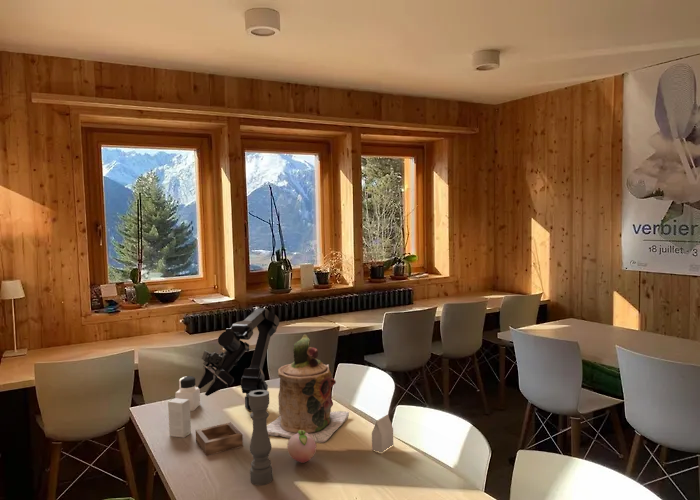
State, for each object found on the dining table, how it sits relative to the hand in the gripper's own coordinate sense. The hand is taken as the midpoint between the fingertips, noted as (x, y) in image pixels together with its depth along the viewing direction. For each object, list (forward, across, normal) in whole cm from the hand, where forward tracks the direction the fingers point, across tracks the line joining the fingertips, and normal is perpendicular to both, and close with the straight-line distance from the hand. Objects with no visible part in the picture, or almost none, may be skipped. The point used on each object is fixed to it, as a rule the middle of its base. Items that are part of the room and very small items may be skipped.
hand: (202, 391), depth 189 cm
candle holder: (+7, +45, +12) cm, 47 cm away
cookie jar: (-13, +17, +32) cm, 39 cm away
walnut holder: (+9, +15, +10) cm, 20 cm away
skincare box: (+16, 0, +4) cm, 16 cm away
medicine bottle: (+9, -25, +10) cm, 29 cm away
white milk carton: (-21, +47, +41) cm, 66 cm away
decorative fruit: (-3, +42, +22) cm, 48 cm away
